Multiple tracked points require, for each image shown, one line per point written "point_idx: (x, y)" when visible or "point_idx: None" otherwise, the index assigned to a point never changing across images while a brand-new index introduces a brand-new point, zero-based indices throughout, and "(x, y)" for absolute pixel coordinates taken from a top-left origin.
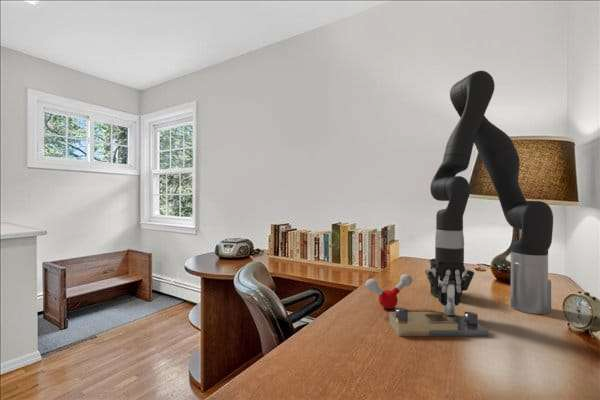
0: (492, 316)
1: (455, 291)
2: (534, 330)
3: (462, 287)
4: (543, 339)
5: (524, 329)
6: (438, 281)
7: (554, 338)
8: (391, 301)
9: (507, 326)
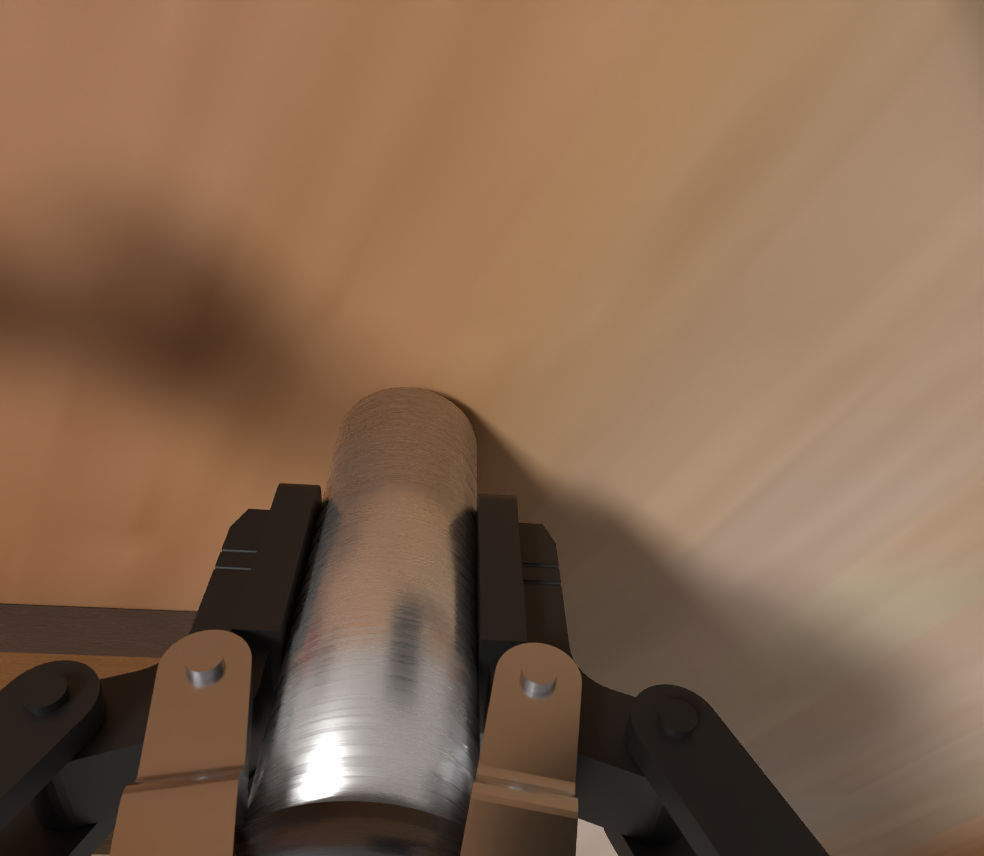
0: (906, 497)
1: (486, 712)
2: (945, 740)
3: (612, 810)
4: (839, 828)
5: (886, 726)
6: (129, 790)
7: (931, 821)
8: None
9: (804, 683)
